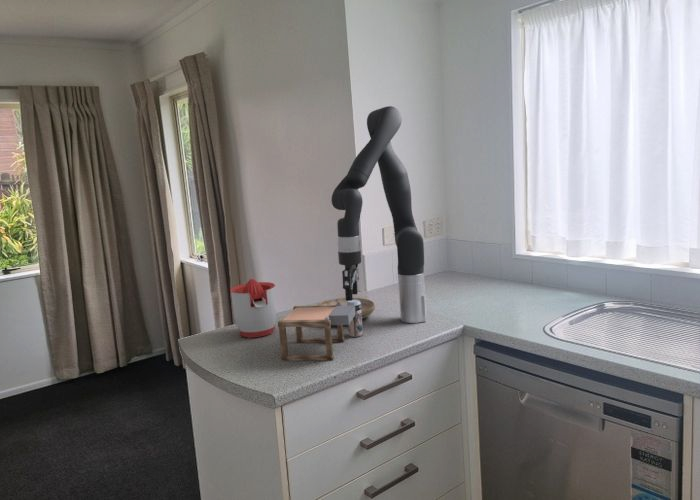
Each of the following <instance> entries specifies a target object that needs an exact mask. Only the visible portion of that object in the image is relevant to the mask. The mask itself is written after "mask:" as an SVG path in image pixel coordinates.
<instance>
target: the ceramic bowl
mask: <svg viewBox="0 0 700 500" xmlns="http://www.w3.org/2000/svg"><path fill="white" fill-rule="evenodd" d="M354 299H357V300H359V301H360V303H361V313H362V320H363V319H365V318H367V317H368V316H370V315H371V314H372V313H374V310H375V308H376V304H375V302H374V301H373V300H371V299H369V298H368V299H367V298H362V297H353V300H354ZM338 302H339V303H340V305H342V306H347V302H348V301H346V297H340V298H339V297H338V298H333V299H328V300H325V301H321V302H319V303H317V304H316V305H315V306H328V305H336V304H337V303H338Z"/></svg>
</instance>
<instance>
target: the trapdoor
mask: <svg viewBox="0 0 700 500" xmlns="http://www.w3.org/2000/svg"><path fill="white" fill-rule="evenodd" d="M354 316H355V305H351V306H336V307H307V308H295V309H294V310H293V309H292V311H291V312H290V313H289V314H287V316H285V317H284V319H283V320H282V321H288V320H324V319H325V318H326V317H329V320H331V326H337V325H343V326H349V324H350V322H351V321H352V319H353V318H354Z"/></svg>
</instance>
